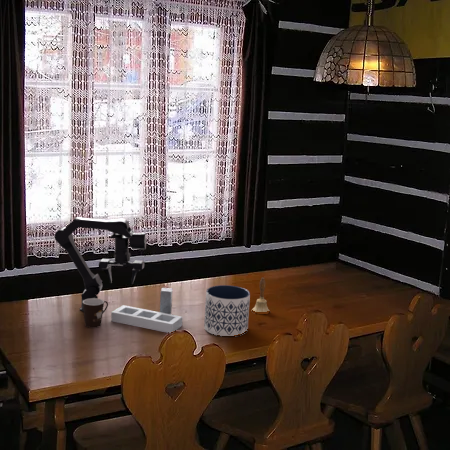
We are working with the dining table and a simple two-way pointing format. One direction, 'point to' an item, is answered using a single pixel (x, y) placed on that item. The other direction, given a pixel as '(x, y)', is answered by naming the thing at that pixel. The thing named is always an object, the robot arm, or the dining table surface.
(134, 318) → the white flat frame block
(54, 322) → the dining table surface
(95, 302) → the coffee mug
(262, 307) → the hand bell
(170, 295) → the steel peg
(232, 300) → the planter
